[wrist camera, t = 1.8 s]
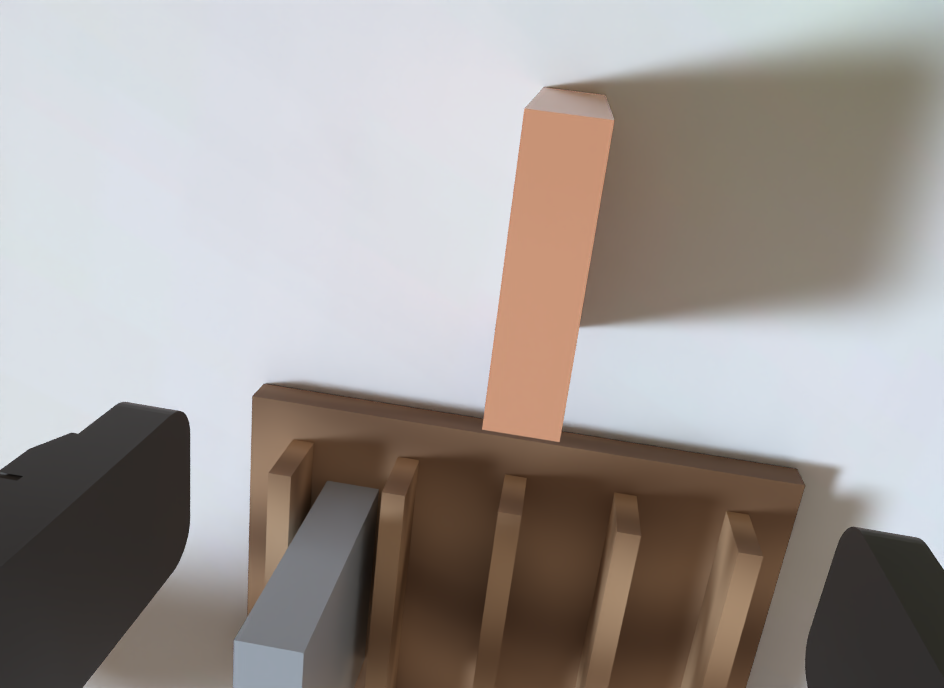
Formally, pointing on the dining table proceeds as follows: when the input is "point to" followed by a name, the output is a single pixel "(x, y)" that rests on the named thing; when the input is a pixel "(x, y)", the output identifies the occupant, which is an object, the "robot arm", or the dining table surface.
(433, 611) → the dish rack
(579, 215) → the salmon pink rectangular prism
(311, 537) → the grey-blue thick slab
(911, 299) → the dining table surface
